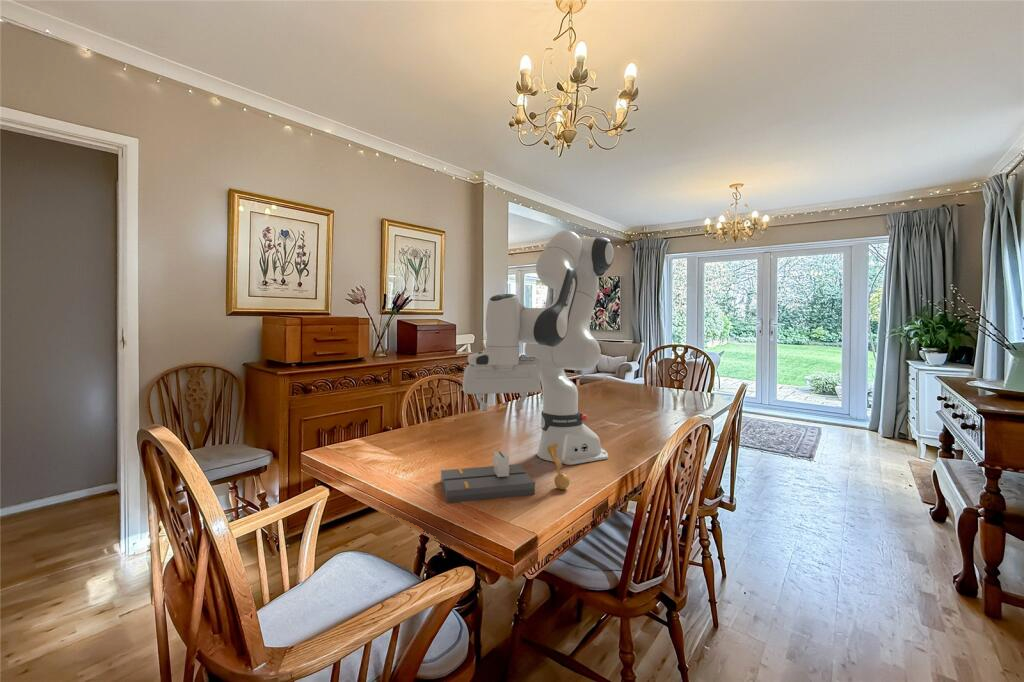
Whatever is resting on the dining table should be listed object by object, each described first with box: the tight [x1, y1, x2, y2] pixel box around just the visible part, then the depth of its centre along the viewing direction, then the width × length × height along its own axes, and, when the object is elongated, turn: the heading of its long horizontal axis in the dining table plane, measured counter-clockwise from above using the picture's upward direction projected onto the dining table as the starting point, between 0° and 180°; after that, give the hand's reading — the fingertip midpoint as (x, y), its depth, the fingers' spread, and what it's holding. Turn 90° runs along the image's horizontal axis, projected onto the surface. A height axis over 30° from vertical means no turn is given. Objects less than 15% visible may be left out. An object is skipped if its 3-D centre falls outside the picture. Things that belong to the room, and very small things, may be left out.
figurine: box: [547, 443, 571, 490], centre depth 115 cm, size 8×6×12 cm
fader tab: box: [493, 451, 510, 477], centre depth 116 cm, size 3×4×7 cm, turn 15°
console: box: [440, 463, 536, 504], centre depth 115 cm, size 22×14×3 cm, turn 105°
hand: (501, 410), depth 115 cm, fingers open, 8 cm apart
